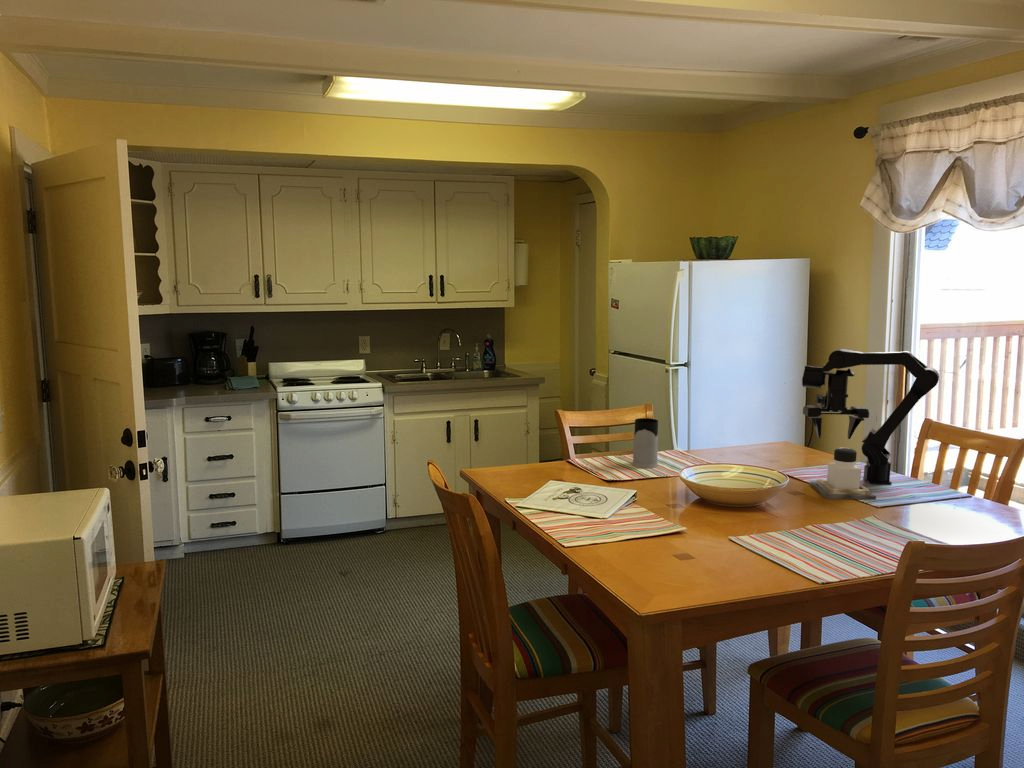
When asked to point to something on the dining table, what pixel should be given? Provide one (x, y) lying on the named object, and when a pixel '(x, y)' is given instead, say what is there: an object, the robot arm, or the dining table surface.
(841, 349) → the robot arm
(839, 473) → the medicine bottle
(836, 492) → the grey square tray
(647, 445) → the glass holder
